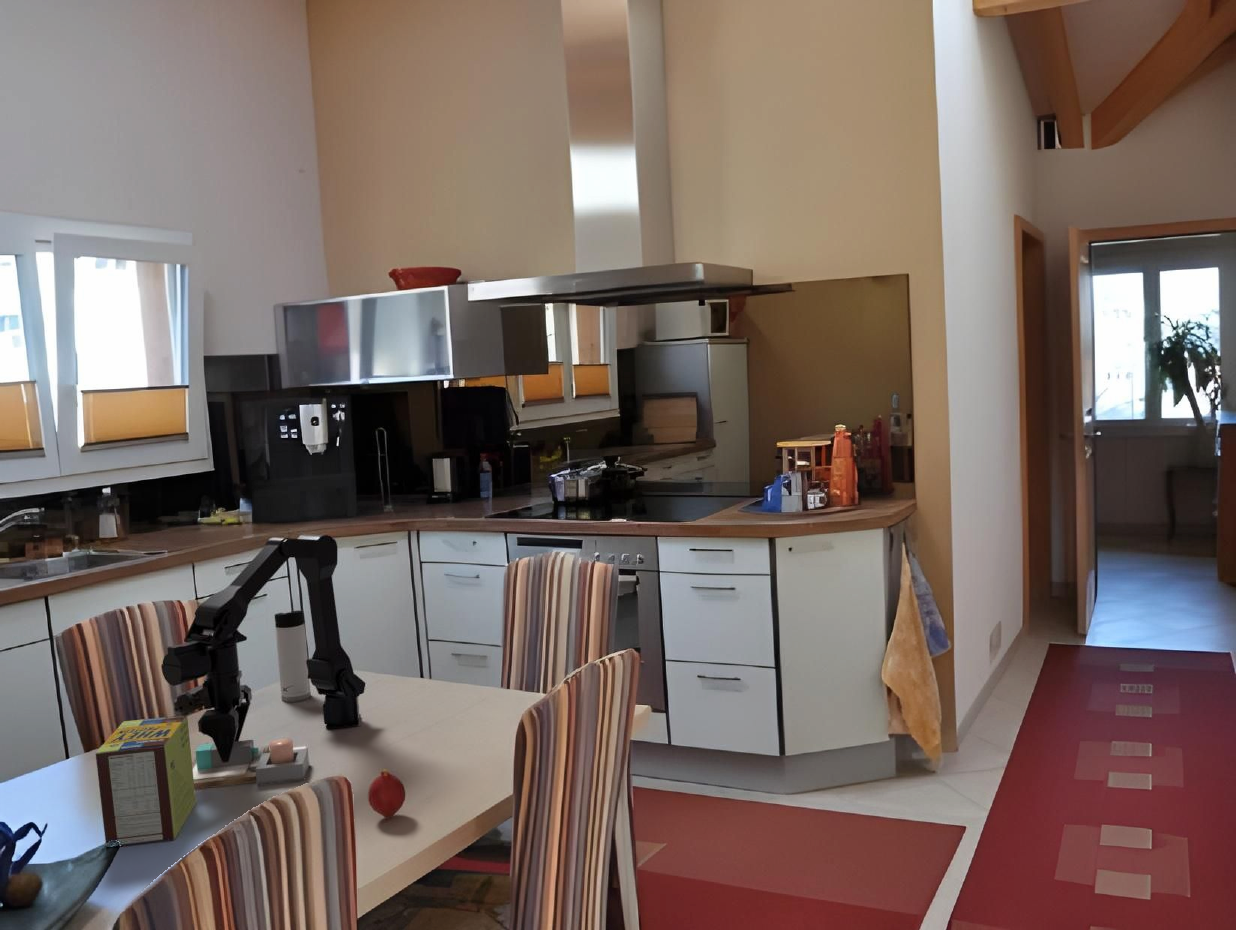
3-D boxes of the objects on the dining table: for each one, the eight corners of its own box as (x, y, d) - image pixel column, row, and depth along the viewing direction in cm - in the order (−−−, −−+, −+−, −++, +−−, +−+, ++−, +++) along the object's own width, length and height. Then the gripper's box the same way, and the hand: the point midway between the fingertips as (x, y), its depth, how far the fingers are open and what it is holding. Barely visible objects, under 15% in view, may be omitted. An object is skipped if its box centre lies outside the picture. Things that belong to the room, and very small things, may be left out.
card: (306, 747, 207) (306, 745, 207) (303, 756, 202) (303, 754, 202) (274, 751, 206) (274, 749, 206) (270, 760, 201) (270, 758, 201)
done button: (295, 758, 196) (293, 737, 195) (292, 766, 192) (290, 744, 191) (272, 761, 195) (270, 739, 195) (269, 769, 191) (267, 747, 191)
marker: (260, 756, 200) (258, 738, 200) (257, 763, 197) (255, 744, 197) (201, 763, 199) (199, 744, 198) (197, 770, 195) (195, 751, 195)
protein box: (196, 802, 183) (188, 713, 182) (174, 841, 168) (165, 744, 167) (131, 809, 182) (122, 720, 180) (103, 849, 166) (93, 752, 165)
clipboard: (269, 750, 207) (268, 741, 206) (255, 781, 191) (255, 772, 191) (198, 758, 204) (197, 749, 204) (178, 790, 189) (177, 780, 189)
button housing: (309, 764, 198) (307, 748, 198) (304, 780, 190) (302, 763, 190) (264, 769, 197) (262, 753, 197) (257, 785, 189) (255, 769, 189)
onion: (373, 811, 175) (369, 764, 174) (408, 808, 175) (405, 760, 175) (367, 826, 169) (363, 777, 168) (404, 823, 170) (401, 774, 169)
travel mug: (284, 704, 236) (276, 614, 234) (279, 697, 242) (271, 609, 240) (313, 699, 239) (306, 610, 237) (307, 691, 244) (300, 605, 243)
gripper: (187, 661, 204) (195, 741, 205) (163, 689, 186) (172, 777, 187) (248, 655, 206) (255, 734, 207) (230, 682, 187) (238, 769, 189)
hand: (230, 753), depth 198 cm, fingers open, 9 cm apart
